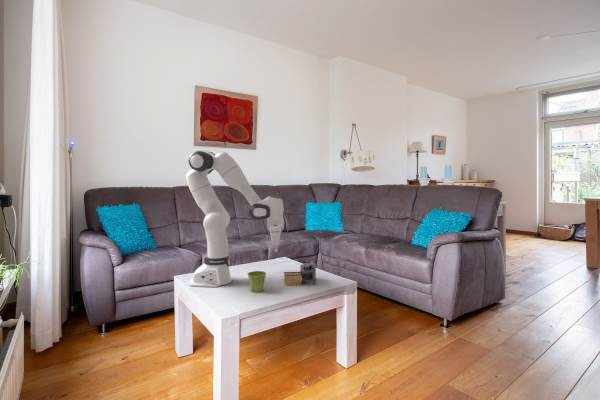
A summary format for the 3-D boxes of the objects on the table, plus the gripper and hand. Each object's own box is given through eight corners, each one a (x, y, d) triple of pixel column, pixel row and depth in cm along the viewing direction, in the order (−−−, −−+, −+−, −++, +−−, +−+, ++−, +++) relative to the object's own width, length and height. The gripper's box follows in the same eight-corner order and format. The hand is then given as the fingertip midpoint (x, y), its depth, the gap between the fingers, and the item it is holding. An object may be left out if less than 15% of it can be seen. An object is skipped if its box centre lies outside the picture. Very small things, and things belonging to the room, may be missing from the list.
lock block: (284, 285, 171) (284, 275, 170) (283, 280, 179) (283, 271, 178) (301, 285, 172) (301, 275, 171) (300, 280, 180) (300, 270, 179)
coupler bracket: (301, 285, 170) (301, 267, 169) (300, 278, 182) (300, 261, 182) (315, 285, 171) (315, 266, 170) (313, 278, 183) (313, 260, 182)
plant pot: (248, 287, 167) (248, 271, 167) (266, 286, 168) (266, 270, 168) (247, 293, 158) (246, 276, 157) (266, 293, 159) (266, 275, 158)
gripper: (270, 223, 183) (270, 247, 184) (269, 229, 162) (269, 256, 163) (281, 223, 183) (281, 247, 184) (281, 228, 163) (282, 255, 164)
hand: (276, 251), depth 173 cm, fingers closed
